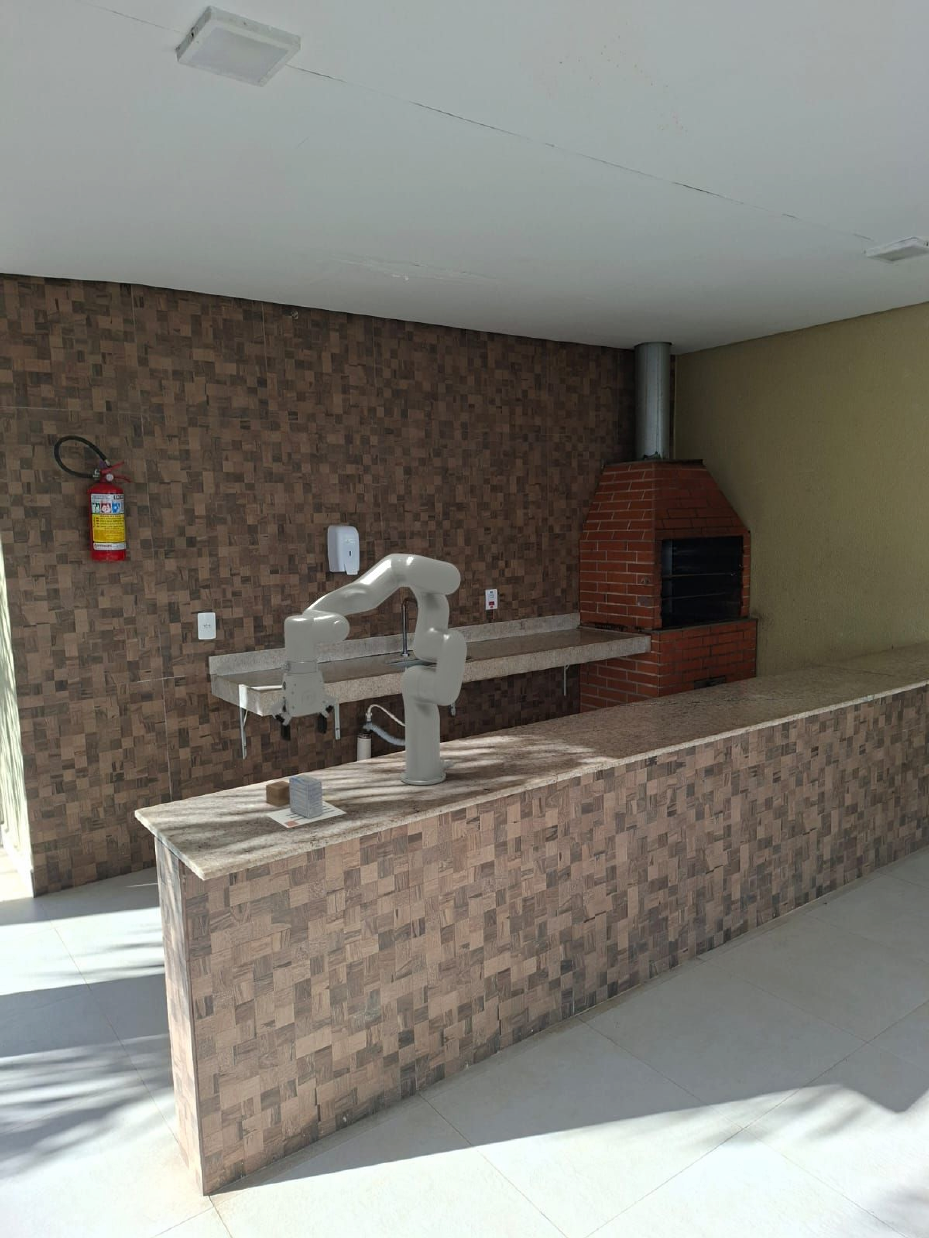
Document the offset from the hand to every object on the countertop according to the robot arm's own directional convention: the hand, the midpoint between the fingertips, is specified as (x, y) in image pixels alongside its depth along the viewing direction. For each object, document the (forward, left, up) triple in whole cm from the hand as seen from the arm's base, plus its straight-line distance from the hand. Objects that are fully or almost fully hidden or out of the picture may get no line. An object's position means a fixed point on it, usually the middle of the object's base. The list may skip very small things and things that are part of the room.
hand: (304, 736), depth 212 cm
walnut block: (+1, -11, -20) cm, 23 cm away
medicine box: (0, 0, -20) cm, 20 cm away
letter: (0, 0, -20) cm, 20 cm away
